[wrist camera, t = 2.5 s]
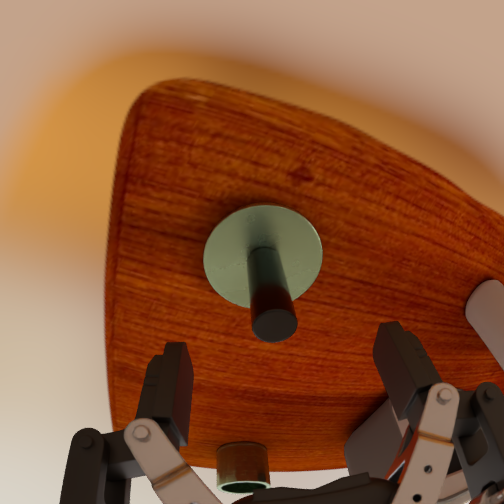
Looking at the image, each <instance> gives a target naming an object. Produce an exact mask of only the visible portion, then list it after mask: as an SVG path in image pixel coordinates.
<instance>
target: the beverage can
mask: <svg viewBox="0 0 504 504" xmlns="http://www.w3.org/2000/svg"><path fill="white" fill-rule="evenodd" d="M466 318H467V320H468V321H469V323H470V324H471V325H472V327H473V328H474V329H475V331H476V332H477V333H478V335H479V336H480V337H481V339H482V340H483V341H484V343H485V344H486V346H487V347H488V348H489V350H490V351H491V353H492V354H493V356H494V357H495V358H496V360H497V361H498V363H499V364H500V366H501V367H502V369H503V370H504V286H503V285H502V284H501V283H500V282H499V281H497V280H487V281H485V282H483V283H482V284H480V285H479V286H478V287H477V288H476V289H475V290H474V292H473V293H472V295H471V296H470V298H469V300H468V302H467V305H466Z"/></svg>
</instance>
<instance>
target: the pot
mask: <svg viewBox="0 0 504 504" xmlns="http://www.w3.org/2000/svg"><path fill="white" fill-rule="evenodd" d="M270 487H271V485H270V475H269V465H268V455H267V449H266V447H265V446H263V445H261V444H258V443H253V442H234V443H229V444H225V445H223V446H221V447H219V448H218V450H217V489H218V490H219V491H222V492H225V493H230V494H253V489H264V488H270Z"/></svg>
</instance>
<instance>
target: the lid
mask: <svg viewBox="0 0 504 504" xmlns="http://www.w3.org/2000/svg"><path fill="white" fill-rule="evenodd" d="M322 258H323V250H322V244H321V241H320V238H319V235H318V233H317V231H316V230H315V228H314V226H313V225H312V224H311V222H310V221H309V220H308V219H307V218H306V217H305V216H304V215H302V214H301V213H300V212H298V211H296V210H295V209H293V208H290V207H288V206H285V205H282V204H278V203H270V202H260V203H253V204H249V205H245V206H242V207H240V208H237V209H235V210H233V211H231V212H230V213H228V214H227V215H225V216H224V217H223V218H222V219H221V220H220V221H219V222H218V223H217V224H216V225H215V226H214V228H213V229H212V230H211V232H210V234H209V236H208V238H207V241H206V243H205V248H204V254H203V264H204V270H205V274H206V276H207V279H208V280H209V282H210V284H211V285H212V287H213V288H214V289H215V290H216V291H217V292H218V293H219V294H220V295H221V296H222V297H224V298H225V299H226V300H228V301H230V302H232V303H234V304H236V305H239V306H243V307H247V308H250V311H251V323H252V331H253V333H254V335H255V336H256V337H257V338H258V339H260V340H262V341H265V342H270V343H275V342H280V341H284V340H286V339H288V338H289V337H291V336H292V335H293V334H294V332H295V331H296V328H297V324H298V323H297V318H296V314H295V310H294V306H293V302H292V301H293V300H295V299H296V298H298V297H299V296H301V295H302V294H303V293H304V292H305V291H306V290H307V289H308V288H309V287H310V286H311V285H312V284H313V282H314V281H315V279H316V277H317V275H318V273H319V271H320V268H321V264H322Z"/></svg>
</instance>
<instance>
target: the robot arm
mask: <svg viewBox="0 0 504 504" xmlns="http://www.w3.org/2000/svg"><path fill="white" fill-rule="evenodd" d="M373 359H374V362H375V365H376V367H377V369H378V372H379V374H380V376H381V379H382V381H383V384H384V386H385V389H386V391H387V394H388V396H389V399H390V401H391V404H392V406H393V409H394V411H395V414H396V416H397V419H398V421H401V420H404V419H407V420H408V422H409V424H408V426H407V429H406V431H405V434H404V437H403V439H402V442H401V444H400V447H399V450H398V452H397V454H396V457H395V459H394V461H393V463H392V465H391V467H390V468H389V470H388V472H387V474H386V475H385V477H384V479H382V478H376V477H369V473H368V472H364V473H360V474H356V475H352V476H347V477H343V478H340V479H338V480H335V481H333V482H331V483H329V484H326V485H323V486H321V487H319V488H316V489H297V488H287V487H276V488H264V489H253V495H249V496H246V497H244V498H241V499H239V500H237V501H235V502H234V503H232V504H437V501H438V498H439V496H440V493H441V490H442V487H443V484H444V481H445V478H446V475H447V472H448V468H449V465H450V461H451V458H452V454H453V450H454V446H455V449H456V452H457V455H458V458H459V461H460V464H461V467H462V470H463V473H464V476H465V480H466V483H467V486H468V490H469V493H470V496H471V501H470V503H469V504H504V396H503V394H502V392H501V390H500V388H499V387H498V386H497V385H495V384H493V383H491V382H484V383H481V384H480V385H479V386H478V387H477V389H476V390H475V391H457V389H456V388H455V387H454V386H452V385H451V384H448V383H443V381H442V380H441V378H440V376H439V374H438V372H437V370H436V369H435V367H434V365H433V363H432V361H431V360H430V358H429V356H427V353H426V351H425V349H423V346H422V344H421V342H420V341H419V339H418V338H417V337H416V336H415V335H414V334H413V333H411V332H410V331H404V330H403V328H402V326H401V325H400V323H399V322H398V321H393V322H387V323H381V324H380V325H379V328H378V332H377V336H376V340H375V343H374V347H373ZM193 380H194V373H193V366H192V363H191V359H190V356H189V353H188V349H187V346H186V343H185V342H167V343H166V345H165V349H164V354H163V355H155V356H154V357H153V359H152V360H151V361H150V362H149V364H148V367H147V371H146V377H145V379H144V385H143V387H142V392H141V396H140V400H139V405H138V409H137V414H136V417H135V419H134V420H133V421H132V422H130V423H129V424H128V425H127V427H126V428H125V429H123V430H120V431H116V432H111V433H106V434H101V433H100V432H99V431H98V430H96V429H93V428H84V429H81V430H80V431H78V432H77V433H76V434H75V435H74V436H73V438H72V441H71V446H70V450H69V455H68V459H67V464H66V469H65V475H64V479H63V485H62V491H61V497H60V503H59V504H129V503H130V489H131V478H135V477H140V476H145V475H146V476H147V478H148V479H149V480H150V482H151V484H152V488H153V490H154V491H155V493H156V494H157V496H158V497H159V498H160V500H161V501H162V503H163V504H222V503H221V501H220V500H219V499H218V498H217V497H216V496H215V495H214V494H213V493H212V492H211V490H210V489H209V488H208V487H207V486H206V485H205V484H204V483H203V481H202V480H201V479H200V478H199V477H198V475H197V474H196V473H195V472H194V471H193V469H192V468H191V467H190V466H189V465H188V464H187V463H186V462H185V460H184V459H183V458H182V456H181V455H180V454H179V446H188V433H189V422H190V411H191V400H192V390H193ZM451 438H452V441H453V442H451Z"/></svg>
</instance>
